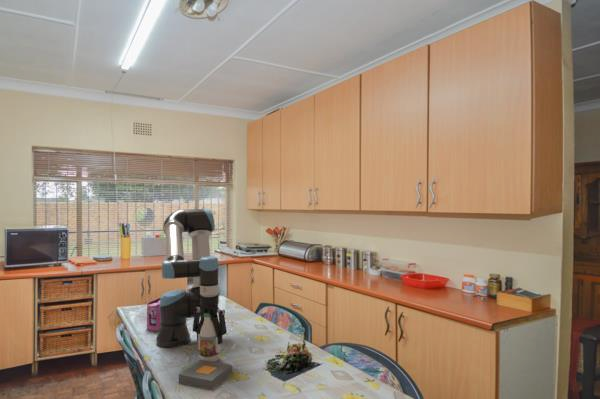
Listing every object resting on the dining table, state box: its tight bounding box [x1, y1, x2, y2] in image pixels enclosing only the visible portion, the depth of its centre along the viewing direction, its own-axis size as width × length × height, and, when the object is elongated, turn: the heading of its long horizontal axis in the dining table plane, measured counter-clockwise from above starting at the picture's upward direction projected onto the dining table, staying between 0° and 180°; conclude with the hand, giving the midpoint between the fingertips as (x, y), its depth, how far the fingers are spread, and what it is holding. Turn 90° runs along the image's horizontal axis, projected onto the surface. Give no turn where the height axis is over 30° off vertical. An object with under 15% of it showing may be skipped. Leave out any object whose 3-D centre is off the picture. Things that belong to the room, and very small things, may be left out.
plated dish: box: [259, 337, 324, 383], centre depth 164 cm, size 35×28×7 cm
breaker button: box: [195, 365, 217, 375], centre depth 149 cm, size 6×6×2 cm
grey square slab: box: [178, 359, 233, 390], centre depth 149 cm, size 14×14×3 cm
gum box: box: [146, 297, 161, 332], centre depth 213 cm, size 24×8×14 cm, turn 167°
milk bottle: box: [199, 312, 220, 362], centre depth 165 cm, size 8×8×20 cm
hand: (209, 350), depth 165 cm, fingers closed on milk bottle, 8 cm apart
